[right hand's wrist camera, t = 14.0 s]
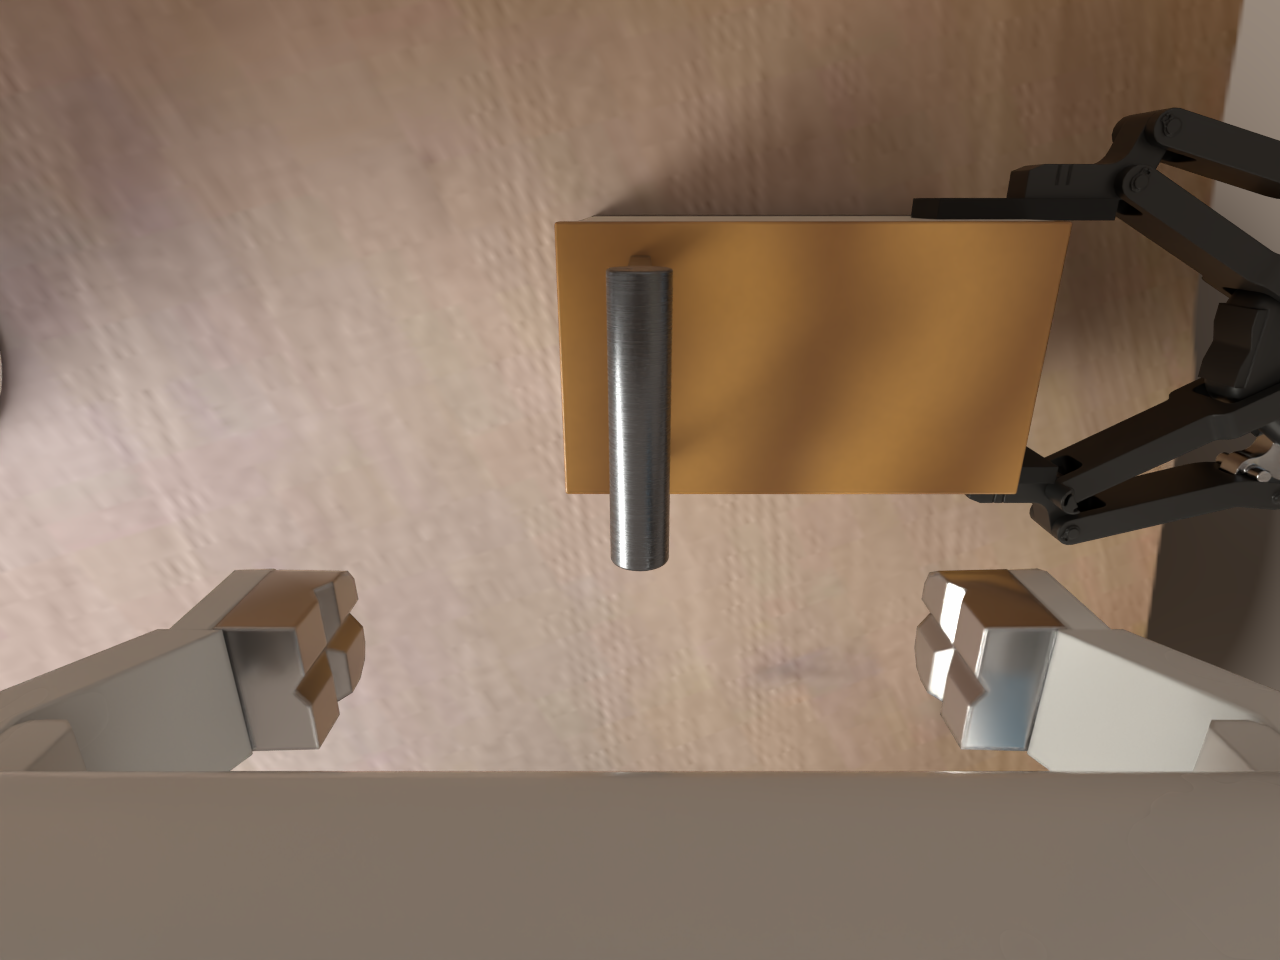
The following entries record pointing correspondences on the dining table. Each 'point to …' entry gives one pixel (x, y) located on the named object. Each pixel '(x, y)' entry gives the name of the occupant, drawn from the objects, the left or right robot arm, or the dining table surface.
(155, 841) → the right robot arm
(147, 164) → the dining table surface
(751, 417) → the lid
